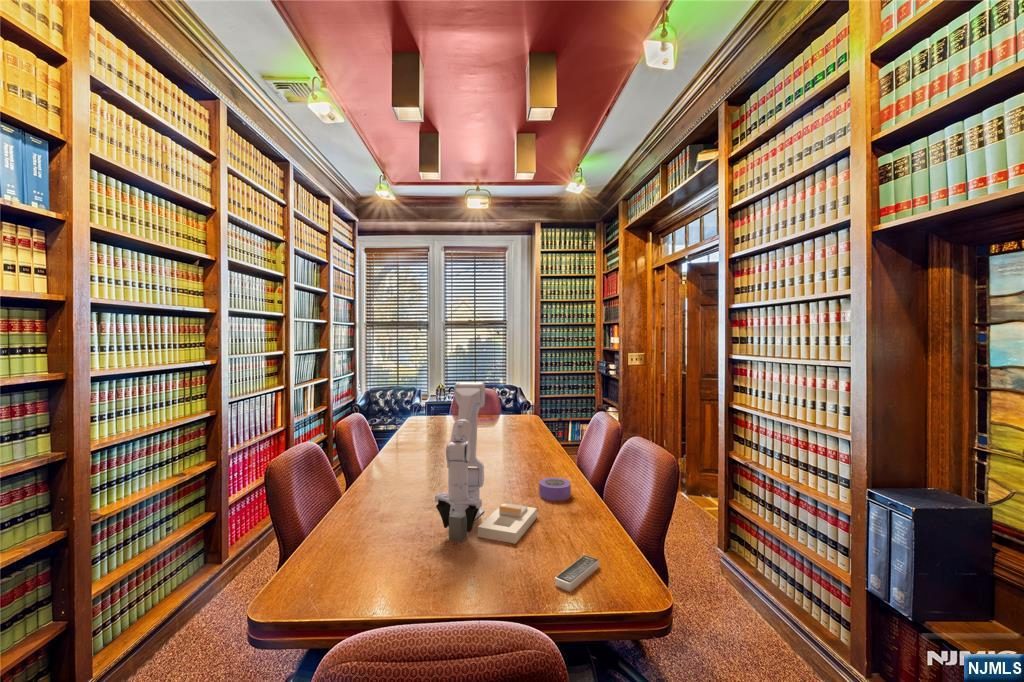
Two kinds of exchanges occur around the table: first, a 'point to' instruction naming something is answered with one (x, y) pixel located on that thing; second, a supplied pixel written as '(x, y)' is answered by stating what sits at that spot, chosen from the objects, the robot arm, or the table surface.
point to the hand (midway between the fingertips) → (458, 528)
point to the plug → (457, 527)
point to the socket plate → (506, 526)
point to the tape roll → (554, 489)
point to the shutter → (512, 510)
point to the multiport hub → (576, 573)
